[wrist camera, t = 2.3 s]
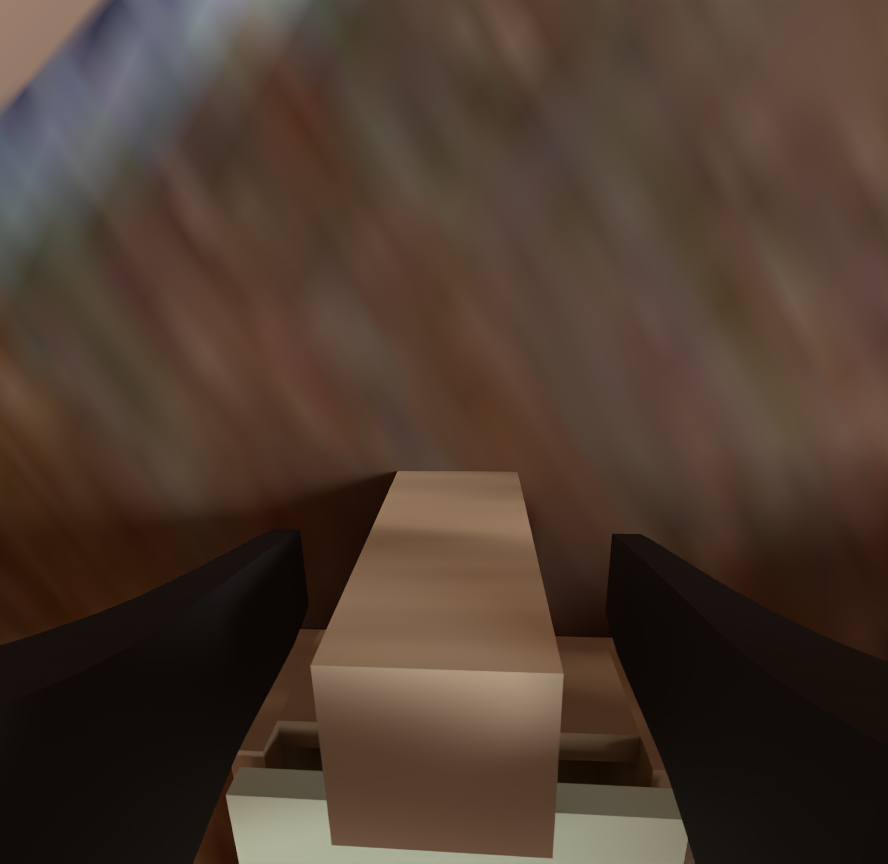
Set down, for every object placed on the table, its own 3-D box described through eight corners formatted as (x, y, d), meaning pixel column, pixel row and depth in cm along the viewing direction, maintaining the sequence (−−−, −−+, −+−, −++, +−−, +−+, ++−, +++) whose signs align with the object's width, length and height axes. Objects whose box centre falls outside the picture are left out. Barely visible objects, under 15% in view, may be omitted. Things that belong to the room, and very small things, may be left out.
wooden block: (514, 577, 13) (553, 858, 7) (403, 575, 14) (331, 844, 7) (517, 471, 13) (563, 673, 6) (397, 470, 13) (310, 665, 6)
